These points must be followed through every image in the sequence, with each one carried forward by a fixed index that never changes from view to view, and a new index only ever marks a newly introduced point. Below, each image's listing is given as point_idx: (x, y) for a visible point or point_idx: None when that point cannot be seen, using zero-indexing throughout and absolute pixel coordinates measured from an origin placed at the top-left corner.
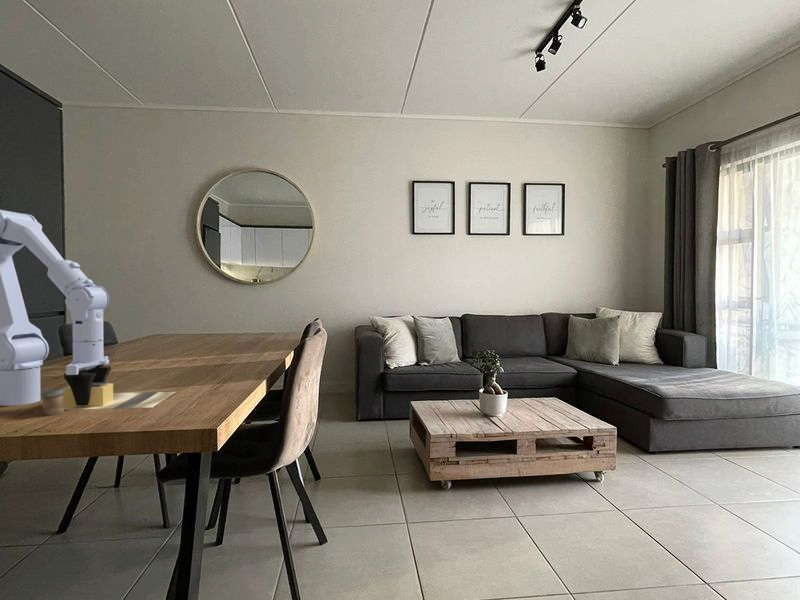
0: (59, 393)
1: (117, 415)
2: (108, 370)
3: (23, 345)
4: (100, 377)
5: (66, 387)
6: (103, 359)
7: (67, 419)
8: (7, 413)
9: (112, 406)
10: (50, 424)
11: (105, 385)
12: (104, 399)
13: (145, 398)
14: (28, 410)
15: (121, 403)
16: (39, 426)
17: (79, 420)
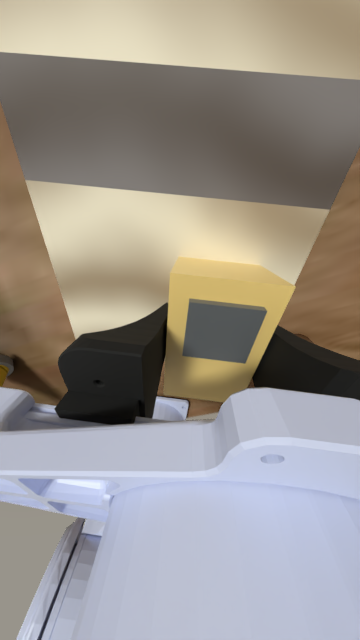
0: None
1: (352, 180)
2: (121, 339)
3: None
4: (158, 346)
5: (222, 400)
6: (234, 492)
7: (309, 323)
8: (199, 415)
9: (288, 223)
10: (344, 341)
11: (229, 292)
12: (254, 268)
13: (154, 89)
14: (184, 399)
15: (241, 201)
16: (349, 354)
17: (345, 292)
